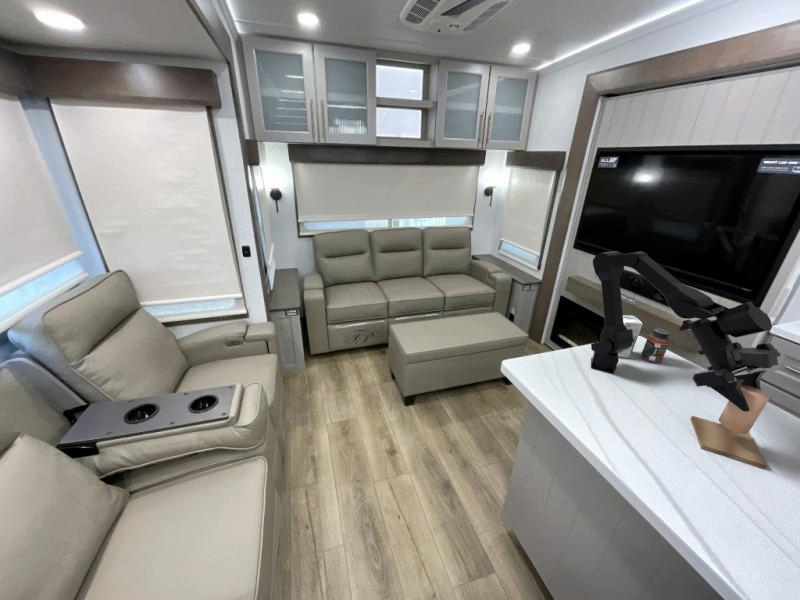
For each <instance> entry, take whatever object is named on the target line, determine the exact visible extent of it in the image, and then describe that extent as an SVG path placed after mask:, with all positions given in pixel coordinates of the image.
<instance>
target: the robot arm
mask: <svg viewBox="0 0 800 600" xmlns="http://www.w3.org/2000/svg"><path fill="white" fill-rule="evenodd" d="M592 267H593V270H594V274H595V275H596V277H598V279H599V280H600V285H601V295H602V305H603V306H602V307H603V316H604V317H603V318H604V326H603V328H602V330H601V332H600V340H599V341H597V342H593V343H590V349H591V350H592V351H593V354H592V357H591V358H590V368H591V369H593V370H597V371H601V372H604V373H608V374H613V375H614V373H615V372H614V371H615V370H616V369H617V367H618V363H619V362H620V361H619V358H620V357H618V353H619V352H623V351H624V350H627V349H629V348H630V347H631V346H632V342H634V340H633V336H632V335H633V331H632V329H627V328H626V326H625V325H624V323H623V315H624V314H623V303H622V293H621V280H620V279H621V276H622V274H623V273H624V271H625V270H624V269H625V267H631V268H632V269H633V270H635V272H637V273H638V274H639V275H641V277H643V278H644V280H646V281H647V282H649V284H650V285H651V286H653V288H655V289H656V290H658V291H659V292H660V293H661V294H662V296H664V299H665V301H666V303H667V305H668V307H669V308H670V309H671V310H672V311H673V313H674V314H675V315H676V316H677V317H678V318H680V319H685V320H683V321H682V323H681V325H680V327H679V332H680V331H681V332H683V331H688V330H690V332H691V333H692V335H693V337H694V339H695V340H696V342H697V344H698V345H699V347H700V350H698V351H697V352H698V354H699V355H700V356H702V355H704V356H705V357H706V360H707V361H708V363H709V365H710V366H707V370H703V371H699V372H697V373H694V374H693V376H692V380H693V382H694V384H695V386H696V387H704V386H706V387H707V388H710V389H712V390H714V391H715V392H716V393H718V394H720V395H721V396H723V397H724V398H725V399H726V400H727V401H730V402H732V403H733V404H734V405H736V406H737V407H738V408H740V409H741V410H742V411H749V407H748V404H747V402H746V400H745V397H744V395H743V393H742V391H741V389H740V386H741V385H746V386H750V387H753V388H756V389H758V390H761V391H762V387H761V381H760V380H761V378H762V376H763V375H764V374H766V372H767V370H765V369H772V367H773V366H778V365H779V359H778V358H779V357H780V356H782V355H781V353H780V352H779V351H778V349H776V348H775V347H774V346H773V344H772V343H767V342H761V343H759V344H757V346H756V347H743V345H741V343H739V342H738V341H735V342H733V341H732V339H731V338H730V336H731V337H732V338H742V337H746V336H751V335H754V334H759V333H765V332H768V331H771V330H772V328H773V324H772V320H771V318H770V317H769V315H768V314H767V313H765V312H764V311H763V310H762V309H761V308H759V307H757V306H755V305H754V303H753V302H752V301H748V302H744V303H742V304H741V303H740V304H738V305H736V306H734V307H730V308H729V307H727V306H724V305H722V304H720V303H718V302H715V301H714V300H713V299H712V297H710V296H709V295H707V294H706V293H704V292H702V291H700V290H698V289H697V288H695V287H692V286H689V285H687V284H684V283H683V282H681V281H680V280H678V279H677V278H676V277H675V276H673V275H672V274H671V273H670V272H668V271H667V270H666V269H665V268H663V267H662V266H661V265H660V264H658V263H657V262H656V261H654V260H653V259H652V258H651V257H650V256H649V254H648V253H647V252H644V251H636V252H628V253H621V252H620V251H617V250H614V251H613V250H612V251H606V252H605V251H604V252H600V253H597V254H596V255H595V256H594V257H593V258H592ZM713 317H714V318H716V319H713V320H711V319H710V318H713ZM691 319H696V320H691ZM759 369H764V370H759Z"/></svg>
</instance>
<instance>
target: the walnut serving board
mask: <svg viewBox="0 0 800 600" xmlns="http://www.w3.org/2000/svg"><path fill="white" fill-rule="evenodd" d="M690 422H691V425H692V427H693V431H694V433H695V436H696V438H697V442H698V444H699V447H700V449H701V450H704V451H707V452H711V453H713V454H717V455H719V456H722V457H726V458H729V459H732V460H735V461H738V462H741V463H744V464H747V465H750V466H753V467H757V468H759V469H762V470H766V469H767V468H768V464H767V462H766V460H765V458H764V457H763V455H762V453H761V451H760V450H759V447H758V446H757V443H755V440H754V439H753V436H752V435H751V433H750V432H749V433H747V434H740V433H737V432H734V431H731V430H729V429H727V428H726V427H724V426H723V425H722V424H721V423H720V422H719V423H718V422H715V421H711V420H709V419H706V418H705V419H704V418H702V417H697V416H694V415H691V416H690Z"/></svg>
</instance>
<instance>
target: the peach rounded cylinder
mask: <svg viewBox="0 0 800 600" xmlns="http://www.w3.org/2000/svg"><path fill="white" fill-rule="evenodd" d="M740 389H741V391H742V393H743V395H744V397H745V400H746V402H747V404H748V407H749V411H742V410H741V409H740V408H738V407H737V406H736V405H734V404H733V403H732V402H730V401H729V400H727V403H726V405H725V407H724V408H723V410H722V412H721V414H720V416H719V418H718V422H719V424H722V425H723V426H724V427H726V428H727V429H729V430H731V431H734V432H737V433H740V434H747V433H750V432H751V429H752V428H753V426H754V424H755V423H756V421H757V420H758V418H759V416H760V415H761V413H762V412H763V410H764V409H765V407H766V405H767V403H768V402H769V400H770V398H771V397H770V396H769V395H768V394H767V393H765V392H764V391H762V389H761V390H758V389H756V388H753V387H750V386H746V385H741V386H740Z"/></svg>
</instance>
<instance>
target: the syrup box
mask: <svg viewBox="0 0 800 600" xmlns="http://www.w3.org/2000/svg"><path fill="white" fill-rule="evenodd" d="M623 323H624V325H625V326H626V328H627V329H632V331H633V335H632V336H633V340H634V342H632V346H631V347H630V348H629V349H627V350H624V351H623V352H619V353H618V358H624V359H625V358H627V359H630V358H631V356H632V353H633V350H634V349H635V346H636V344H637V343H636V342H637V339H638V338H639V334H640V333H641V329H642V327H643V325H644V324H643V322H642V321H641V320H640V319H638V318H637V316H634V315H624V314H623Z"/></svg>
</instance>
